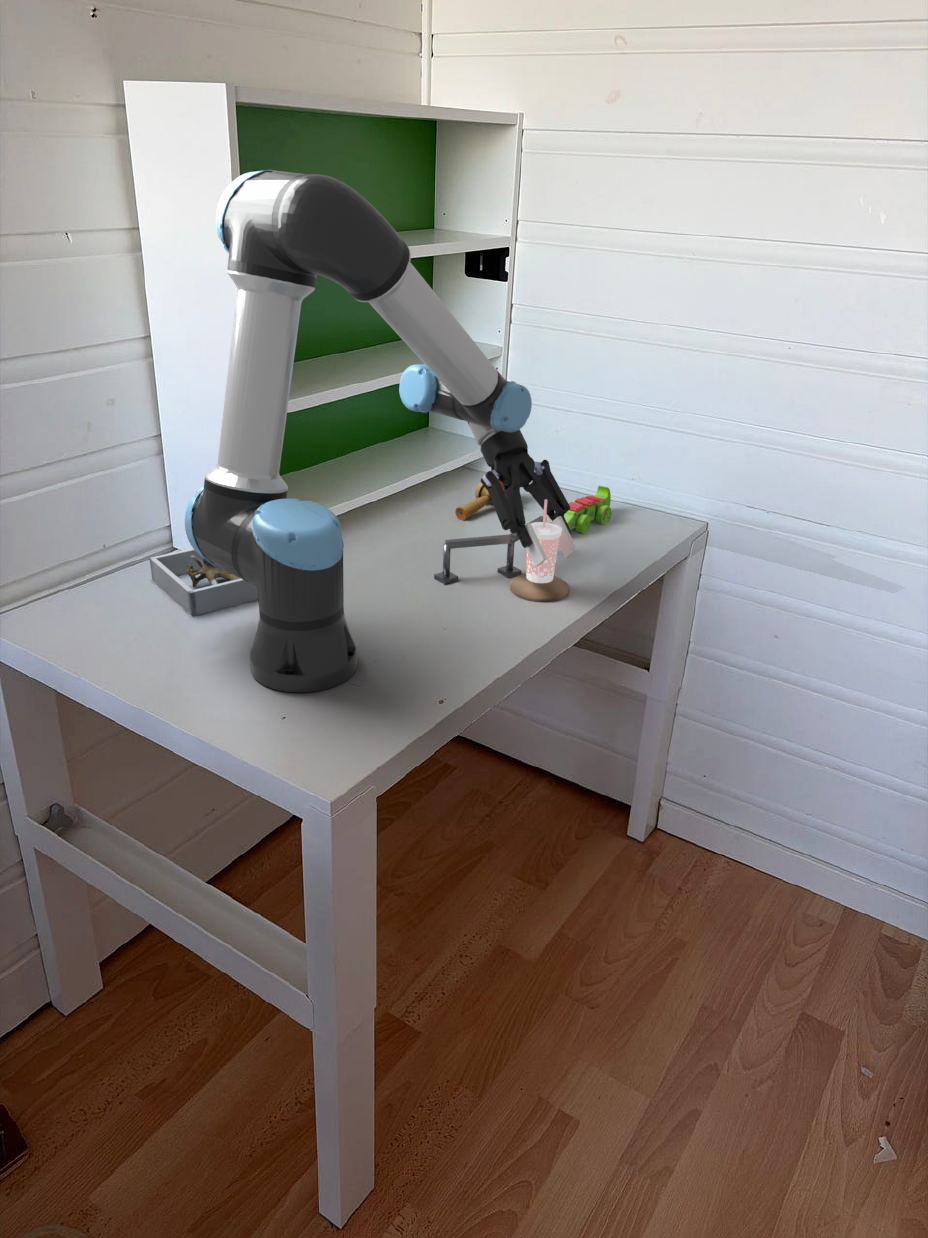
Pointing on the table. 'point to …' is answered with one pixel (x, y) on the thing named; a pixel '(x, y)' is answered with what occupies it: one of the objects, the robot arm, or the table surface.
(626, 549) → the table surface
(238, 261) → the robot arm
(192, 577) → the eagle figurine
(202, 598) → the slate open-top tray
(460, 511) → the kendama
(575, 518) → the toy crocodile
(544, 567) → the beverage cup
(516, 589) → the walnut pad
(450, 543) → the bent rail
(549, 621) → the table surface
